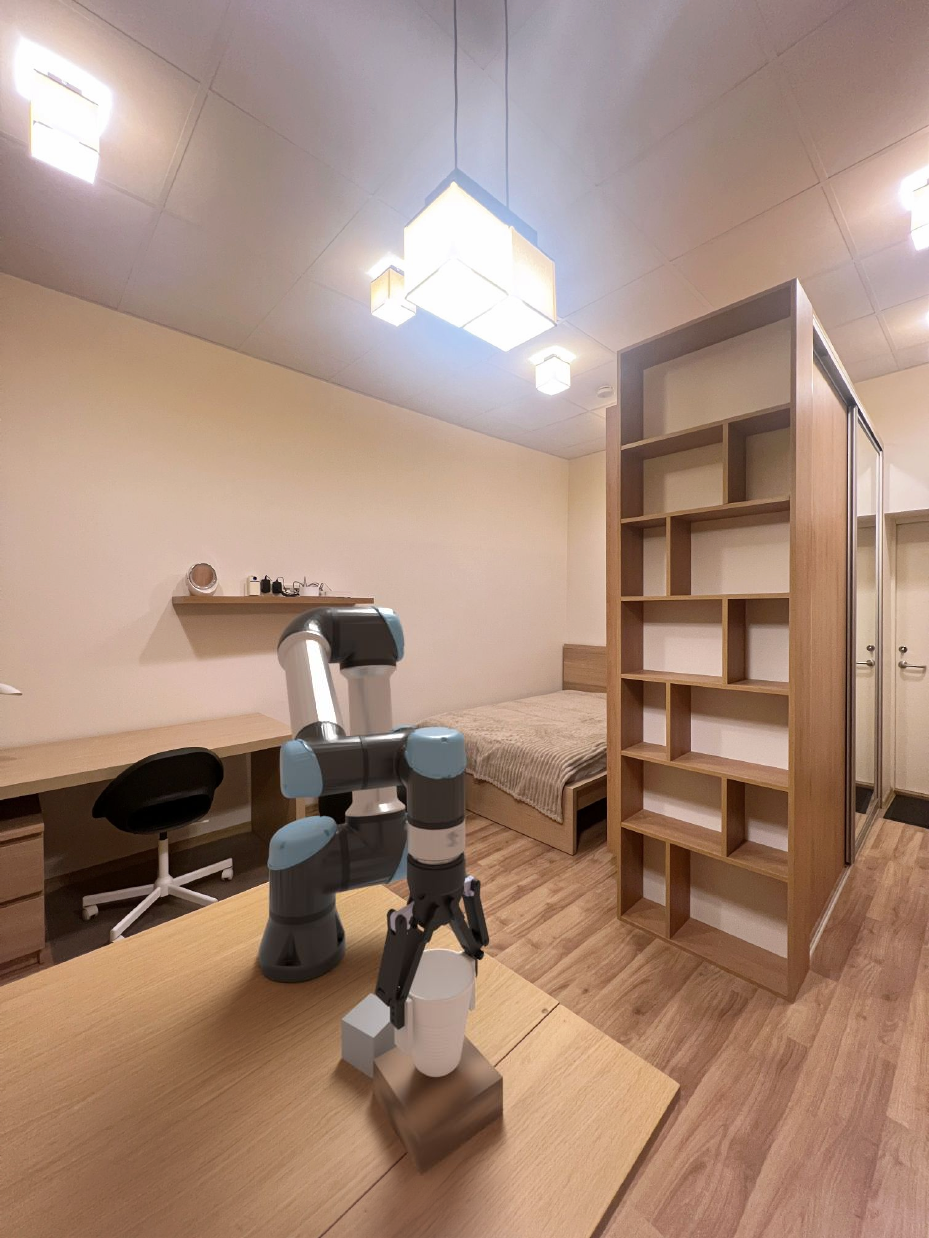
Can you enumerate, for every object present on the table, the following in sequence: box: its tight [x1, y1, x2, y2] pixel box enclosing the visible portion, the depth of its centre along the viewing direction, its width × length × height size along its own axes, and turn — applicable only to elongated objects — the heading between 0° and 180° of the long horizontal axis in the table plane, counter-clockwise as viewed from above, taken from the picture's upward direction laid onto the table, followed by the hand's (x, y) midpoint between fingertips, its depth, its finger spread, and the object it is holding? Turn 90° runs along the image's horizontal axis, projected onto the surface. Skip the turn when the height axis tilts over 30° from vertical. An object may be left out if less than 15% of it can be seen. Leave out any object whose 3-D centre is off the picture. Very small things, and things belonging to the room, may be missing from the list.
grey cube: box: [340, 992, 397, 1080], centre depth 73 cm, size 6×6×6 cm
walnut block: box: [372, 1034, 504, 1176], centre depth 66 cm, size 12×12×5 cm
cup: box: [408, 948, 476, 1077], centre depth 66 cm, size 10×10×11 cm
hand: (436, 1025), depth 66 cm, fingers closed on cup, 10 cm apart
